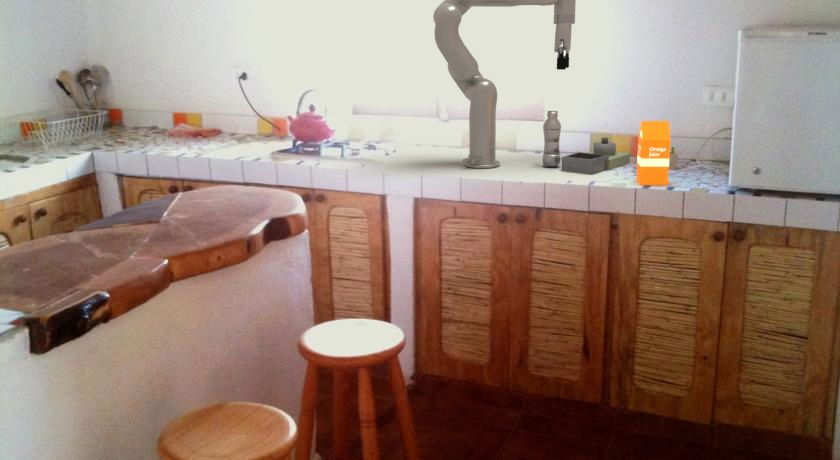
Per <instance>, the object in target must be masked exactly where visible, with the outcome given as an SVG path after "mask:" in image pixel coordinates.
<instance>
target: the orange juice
mask: <svg viewBox="0 0 840 460" xmlns="http://www.w3.org/2000/svg"><path fill="white" fill-rule="evenodd" d="M670 132H671V131H670V120H655V121H654V120H641V123H640V127H639V132H638V140H637V142H638V143H637V156H636V157H637V159H636V177H635V179H636V181H637V182H638V184H639V185H640V186H668V183H669V170H670V169H669V155H670V151H671V150H670V149H671V133H670Z"/></svg>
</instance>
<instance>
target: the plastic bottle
mask: <svg viewBox="0 0 840 460" xmlns="http://www.w3.org/2000/svg"><path fill="white" fill-rule="evenodd" d="M546 117H547V118H546V120H545V121H544V123H543V125H542V130H543V137H544V138H543V139H544V140H543V141H544V146H543V154H542V164H543V166H545V167H547V168H548V167H549V168H555V167H559V166H560V164H561V162H562V157H561V153H560V152H561V151H560V138H561V137H560V136H561V131H562V124H561V122H560V120H559V119H558V117H559V112H558V110H547V113H546Z"/></svg>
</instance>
